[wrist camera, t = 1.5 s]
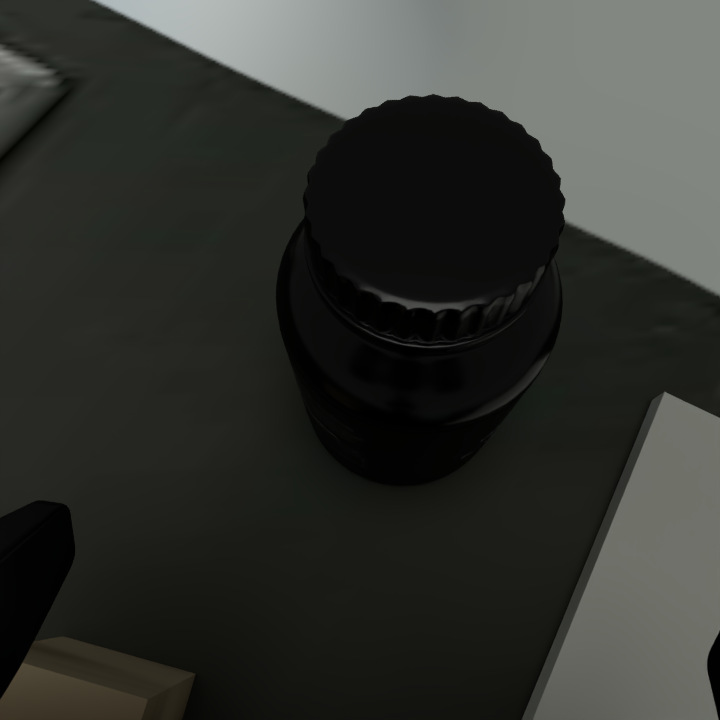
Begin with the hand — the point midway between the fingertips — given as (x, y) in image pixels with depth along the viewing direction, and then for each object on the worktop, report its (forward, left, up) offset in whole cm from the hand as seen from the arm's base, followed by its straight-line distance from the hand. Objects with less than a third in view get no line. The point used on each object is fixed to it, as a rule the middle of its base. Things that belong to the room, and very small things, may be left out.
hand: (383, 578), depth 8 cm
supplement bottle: (+6, +2, -13) cm, 14 cm away
